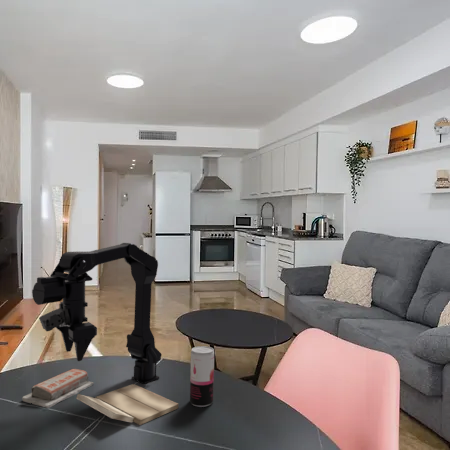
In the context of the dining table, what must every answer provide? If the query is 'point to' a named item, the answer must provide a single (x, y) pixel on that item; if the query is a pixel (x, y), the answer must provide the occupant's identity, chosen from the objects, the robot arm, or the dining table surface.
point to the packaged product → (58, 388)
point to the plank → (105, 408)
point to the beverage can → (202, 376)
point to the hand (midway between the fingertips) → (73, 355)
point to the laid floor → (138, 403)
